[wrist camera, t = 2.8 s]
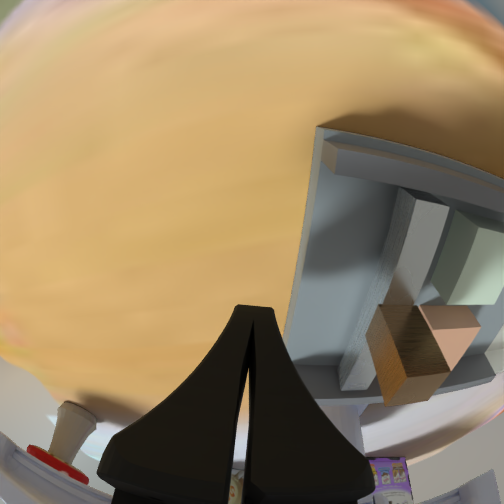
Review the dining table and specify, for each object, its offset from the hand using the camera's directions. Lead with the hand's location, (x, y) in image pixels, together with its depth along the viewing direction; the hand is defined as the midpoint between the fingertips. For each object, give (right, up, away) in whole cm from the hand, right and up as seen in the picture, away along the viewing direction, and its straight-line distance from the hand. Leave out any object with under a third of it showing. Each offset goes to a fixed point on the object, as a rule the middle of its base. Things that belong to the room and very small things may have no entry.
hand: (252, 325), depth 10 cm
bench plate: (+11, +1, +4) cm, 12 cm away
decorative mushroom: (-25, -20, +19) cm, 37 cm away
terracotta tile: (+11, -2, +4) cm, 12 cm away
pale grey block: (+6, +1, +2) cm, 6 cm away
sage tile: (+11, +3, +1) cm, 12 cm away
